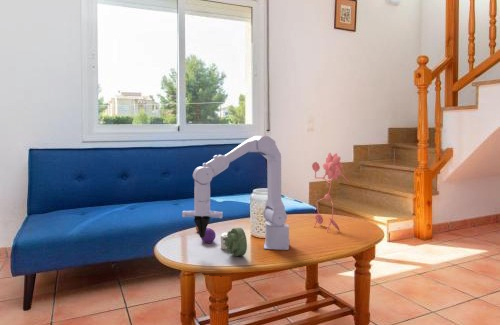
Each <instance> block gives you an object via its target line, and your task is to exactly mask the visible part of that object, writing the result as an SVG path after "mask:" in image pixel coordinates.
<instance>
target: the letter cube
mask: <svg viewBox="0 0 500 325" xmlns="http://www.w3.org/2000/svg"><path fill="white" fill-rule="evenodd" d="M227 233H228V232H222V234H221V236H220V249H221V250H228V249H227V246H225V244H223V243H225V240H226V237H228V236H227Z"/></svg>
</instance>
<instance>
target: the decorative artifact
mask: <svg viewBox="0 0 500 325" xmlns="http://www.w3.org/2000/svg"><path fill="white" fill-rule="evenodd" d="M226 233H227V236H228V237H226V240H225V243H223V244H225V246H227V249H226V250H228V252H229V254H230V255H234V256H235V257H239V256H245V255H246V253H247V248H248V242H247V241H248V240H247V236H246V233H245V231H244V229H243V228H242V227H233V228H232V229H231V230H230V231H227V232H226Z"/></svg>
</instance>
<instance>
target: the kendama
mask: <svg viewBox="0 0 500 325" xmlns="http://www.w3.org/2000/svg"><path fill="white" fill-rule="evenodd" d="M195 230H196V231H197V232H199V230H198V228H197V225H196V226H195ZM200 239H201V241H202V242H203V243H205V244H211V243H213V242H214V241H215V239H216V232H215V230H214V229H213V228H209V227H207V228H206V232H205V237H204V238H203V237H200Z"/></svg>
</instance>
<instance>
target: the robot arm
mask: <svg viewBox="0 0 500 325" xmlns="http://www.w3.org/2000/svg"><path fill="white" fill-rule="evenodd" d="M247 153H257V154H260V155H261V156H263V157H264V158H265V159H266V160H267V161H266V162H267V163H266V164H267V165H266V166H267V168H266V171H267V172H266V174H267V177H266V178H267V179H266V180H267V200H266V201H265V206H264V210H263V212H262V213H263V214H262V215H263V218H264V219H265V237H264V238H265V242H264V243H263V244H264V245H263V250H277V251H278V250H281V251H286V250H287V251H288V250H290V249H289V248H290V246H289V245H290V244H291V242H290V240H291V239H290V225H289V224H285V223H286V222H287V219H288V215H287V212H286V210H285V209H286V208H285V205H284V203H283V200H282V155H281V154H282V153H281V151H280V149H279V148H278V146H277V143H276V141H275V140H274V139H273V138H271V136H268V135H259V134H256V135H254V136H252V137H249V138H247V139H246V140H244V141H242V143H240V144H238V146H236V147H234V148H233V149H232V150H231V151H229V152H227V153H226V154H223V155H222V154H215V155H213V156H212V159H211V160H209V161H207V162H203V163H202V166H197V167H196V168H195V169H194V171H193V173H192V179H193V180H194V190H193V191H194V194H193V196H194V201H193V203H194V206H193V207H194V208H193V210H182V212H181V216H182V218H194V219H193V221H194V223H195V225H196V226H197V228H198V230H199V238H201V237H203V238H204V237H205V232H206V228H208V224H209V223H210V220H211V218H213V219H214V218H217V219H223V216H224V215H223V214H224V213H223V211H216V210H211V182H212V180H213V178H215V177H217V175H219V174H220V173H222V172H224V171H225V170H226V169H227V170H228V168H229V166H230V163H232V162H233V161H235V160H237V159H238V158H240V157H242V156H243V155H245V154H247Z"/></svg>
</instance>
